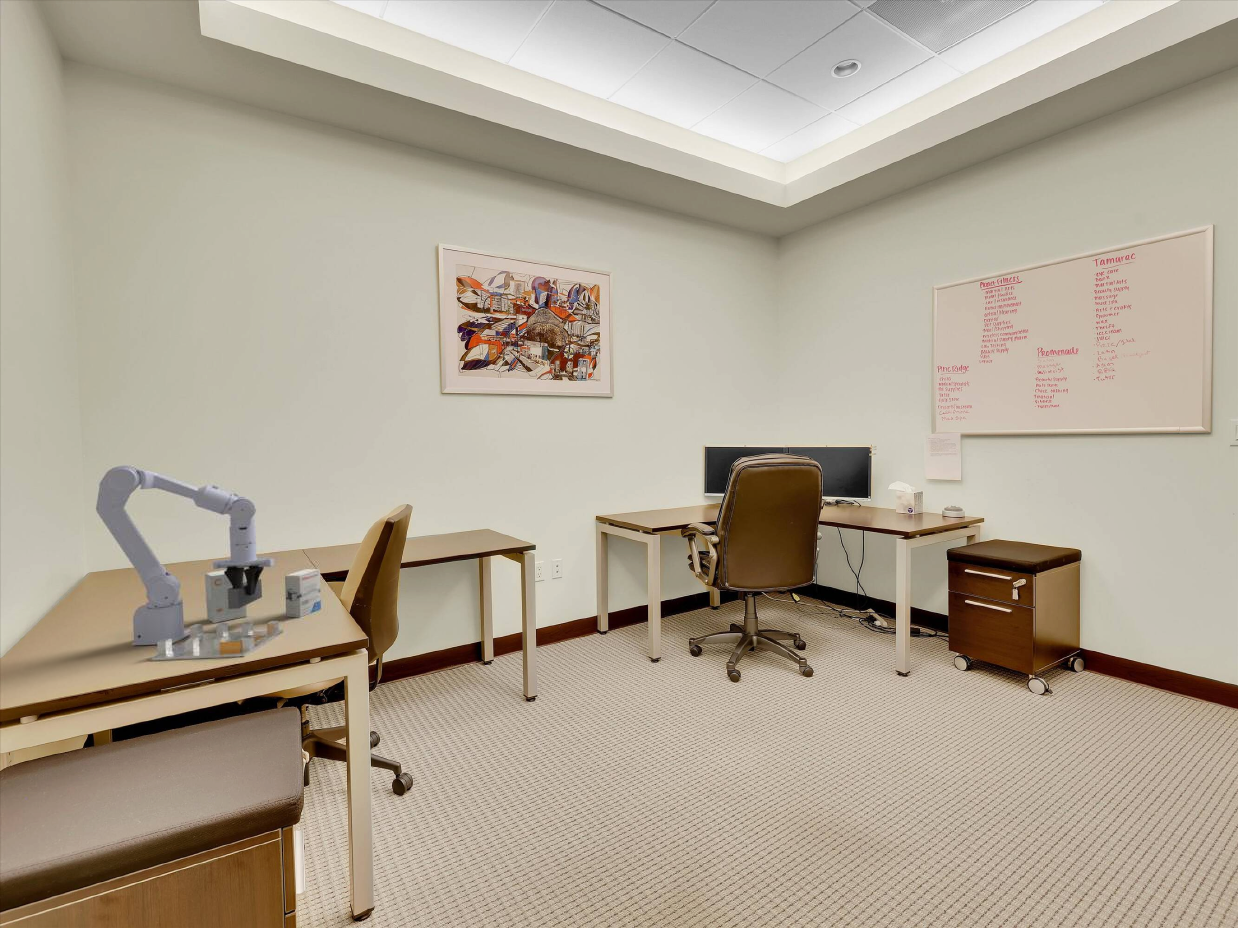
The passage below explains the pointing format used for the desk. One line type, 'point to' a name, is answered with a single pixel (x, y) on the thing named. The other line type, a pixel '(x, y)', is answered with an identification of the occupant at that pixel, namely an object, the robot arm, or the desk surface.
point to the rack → (217, 642)
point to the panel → (243, 595)
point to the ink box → (302, 592)
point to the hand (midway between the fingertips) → (245, 594)
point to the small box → (220, 598)
